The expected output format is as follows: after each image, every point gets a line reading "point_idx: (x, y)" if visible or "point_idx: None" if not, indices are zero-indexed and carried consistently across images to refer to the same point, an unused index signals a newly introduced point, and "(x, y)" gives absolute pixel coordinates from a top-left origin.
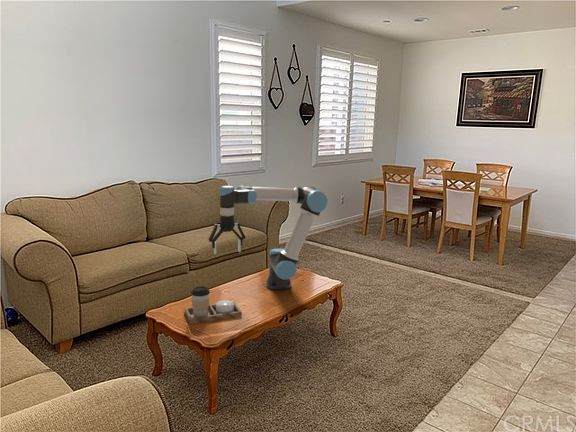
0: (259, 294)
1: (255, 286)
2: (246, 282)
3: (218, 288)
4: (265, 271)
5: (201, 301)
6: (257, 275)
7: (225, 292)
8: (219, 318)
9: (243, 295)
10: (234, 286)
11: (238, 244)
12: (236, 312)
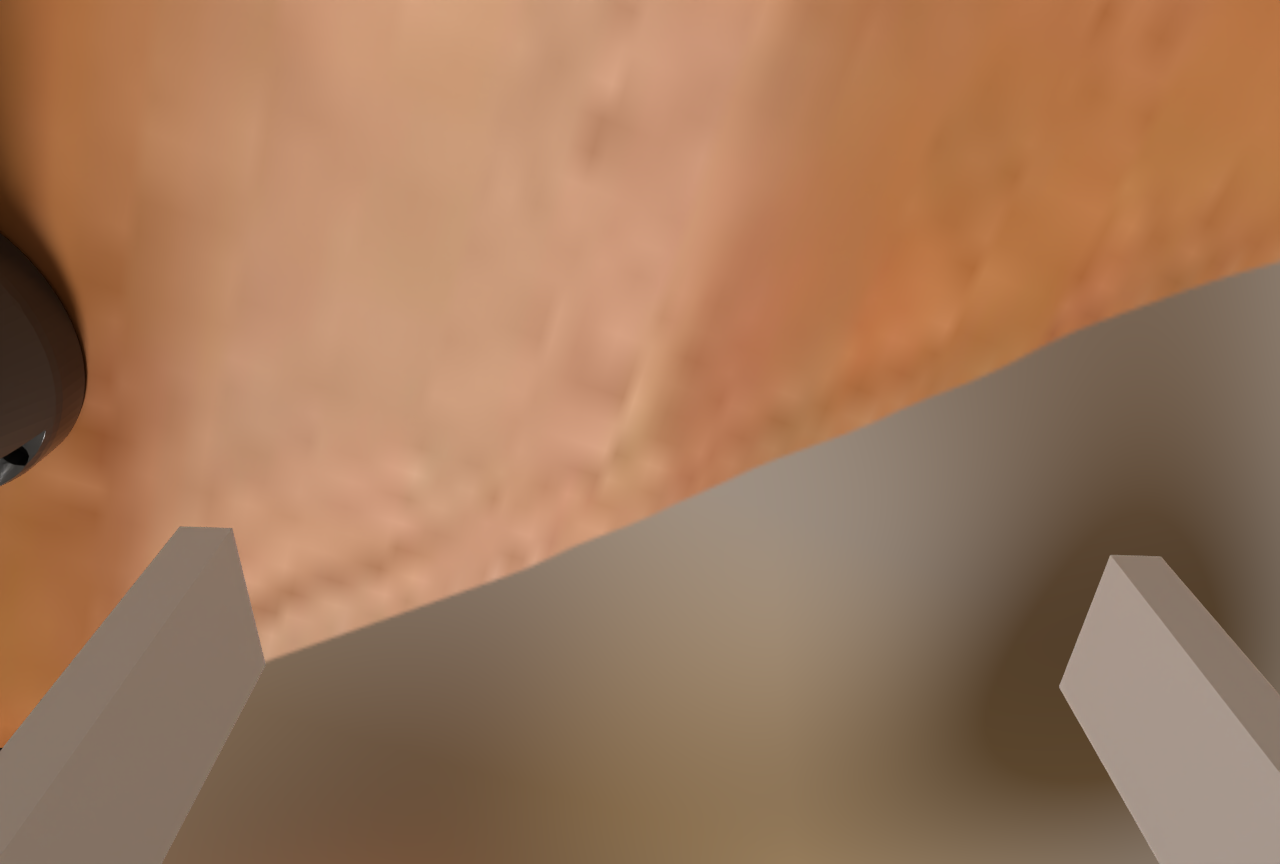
0: (207, 146)
1: (225, 410)
2: (314, 546)
3: (663, 492)
4: None
5: None
6: None
7: (623, 361)
8: None
9: (429, 192)
10: (473, 487)
11: (116, 845)
12: None
